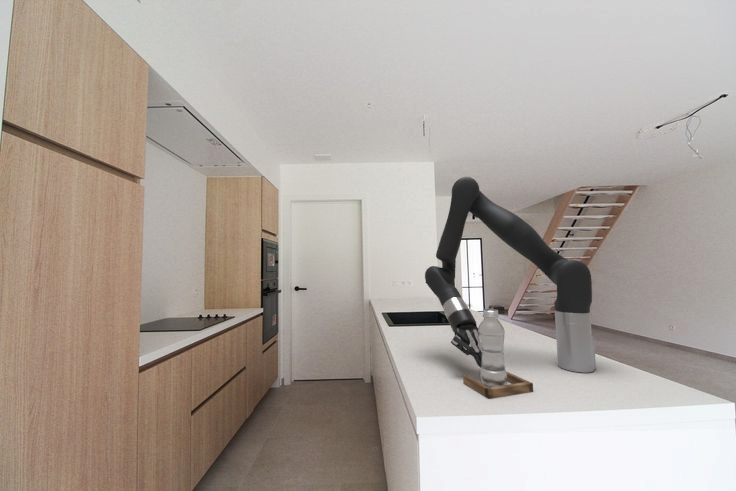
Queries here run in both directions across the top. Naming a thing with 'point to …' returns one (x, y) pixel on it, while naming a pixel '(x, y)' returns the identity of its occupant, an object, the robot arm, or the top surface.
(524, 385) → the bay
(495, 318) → the plastic bottle
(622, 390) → the top surface
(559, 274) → the robot arm
